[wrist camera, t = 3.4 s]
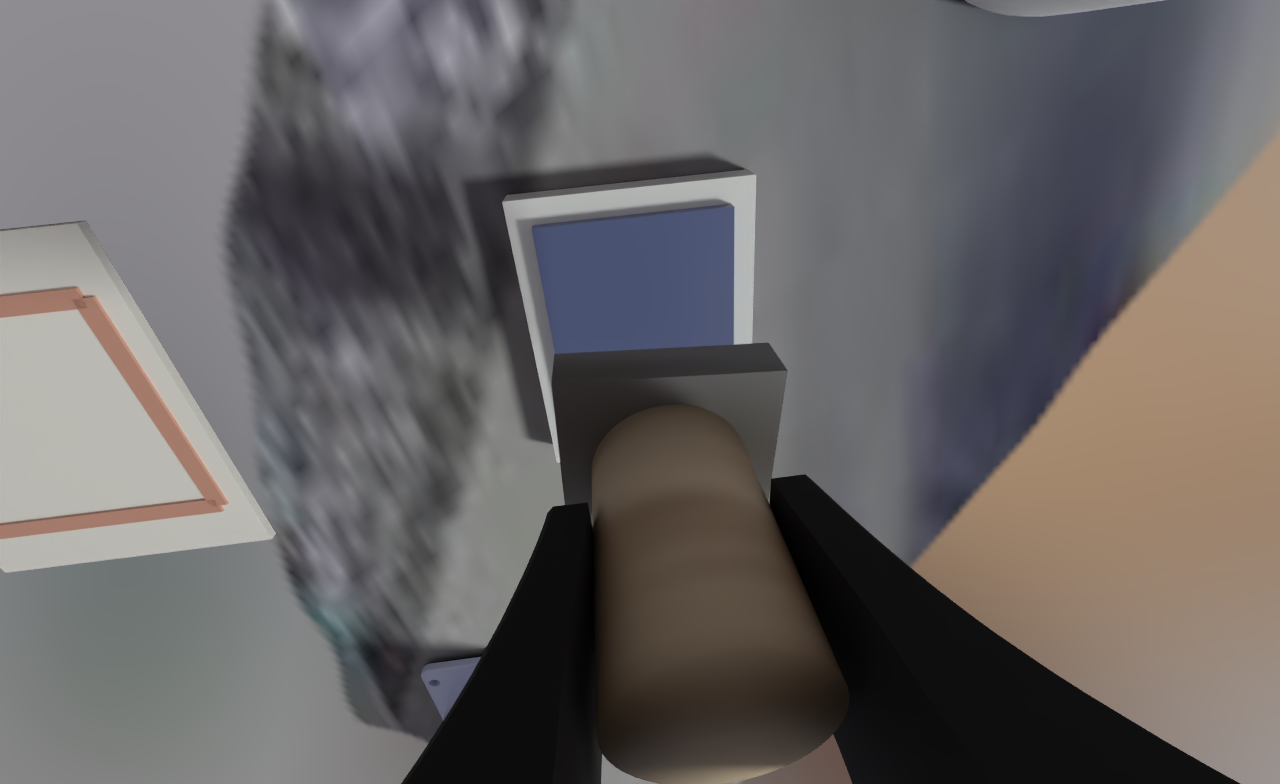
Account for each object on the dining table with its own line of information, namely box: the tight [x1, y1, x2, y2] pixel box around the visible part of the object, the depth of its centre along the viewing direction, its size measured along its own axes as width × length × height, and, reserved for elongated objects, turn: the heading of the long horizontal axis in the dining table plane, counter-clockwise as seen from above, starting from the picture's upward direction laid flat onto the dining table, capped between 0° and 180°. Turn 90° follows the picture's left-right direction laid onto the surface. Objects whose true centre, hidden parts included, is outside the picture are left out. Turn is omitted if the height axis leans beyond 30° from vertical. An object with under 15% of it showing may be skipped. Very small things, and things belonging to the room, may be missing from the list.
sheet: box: [0, 221, 276, 573], centre depth 17 cm, size 12×10×1 cm
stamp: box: [551, 343, 849, 784], centre depth 9 cm, size 4×4×6 cm
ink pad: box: [502, 169, 756, 463], centre depth 17 cm, size 9×7×1 cm
